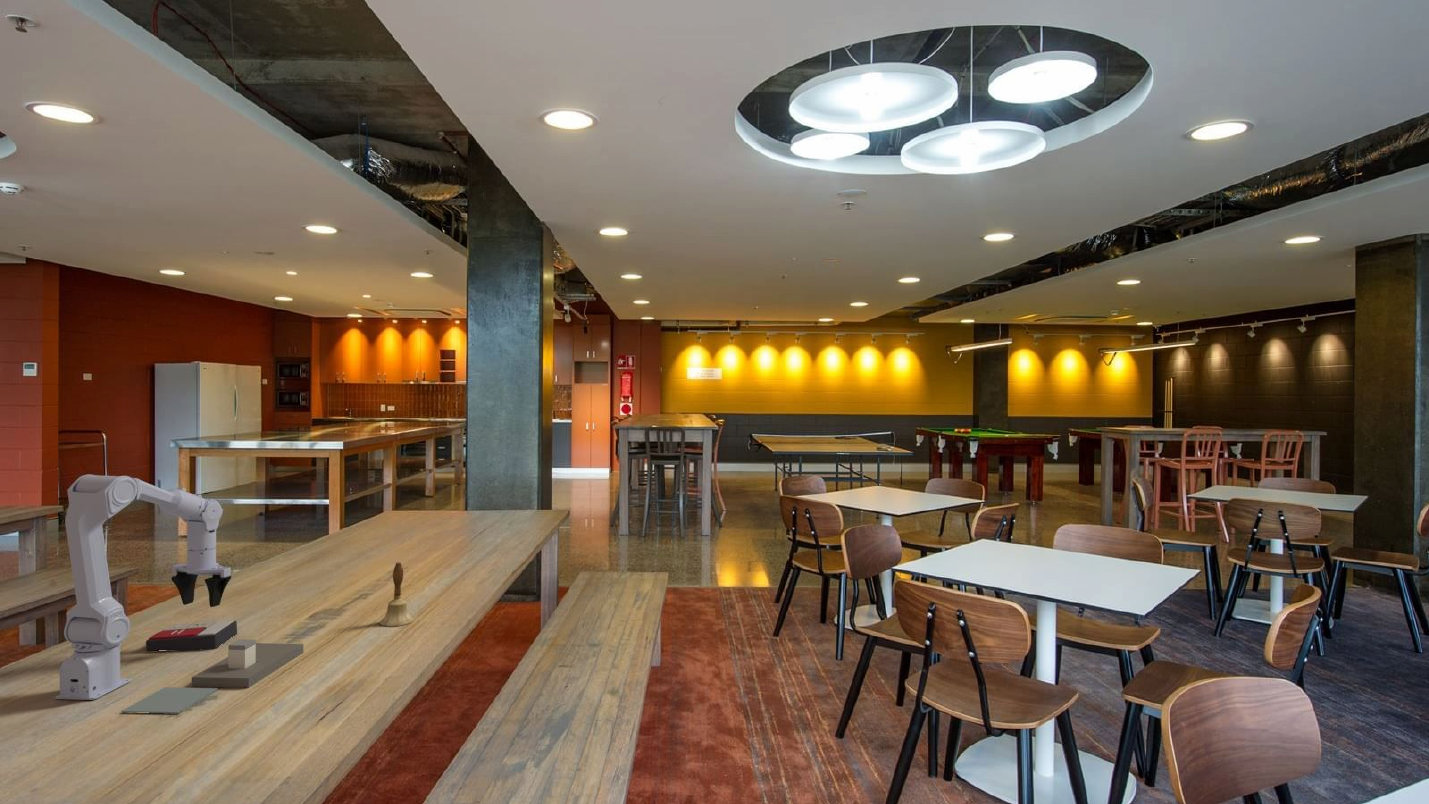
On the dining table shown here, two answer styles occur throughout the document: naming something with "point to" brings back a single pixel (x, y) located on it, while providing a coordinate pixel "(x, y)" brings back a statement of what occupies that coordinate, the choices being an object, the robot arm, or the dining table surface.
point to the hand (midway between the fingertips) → (201, 604)
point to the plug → (242, 654)
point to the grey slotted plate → (266, 663)
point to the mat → (170, 700)
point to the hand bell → (397, 603)
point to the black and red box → (193, 636)
